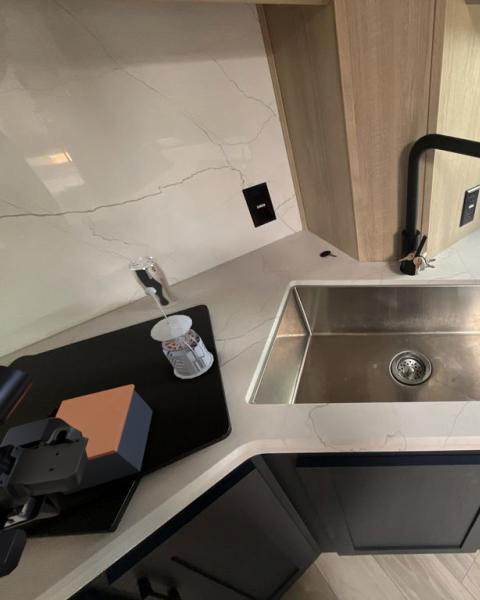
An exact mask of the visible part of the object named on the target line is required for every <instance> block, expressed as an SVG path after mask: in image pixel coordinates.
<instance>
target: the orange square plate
mask: <svg viewBox="0 0 480 600" xmlns="http://www.w3.org/2000/svg"><path fill="white" fill-rule="evenodd" d="M133 390H135V385H134V384H133V383H131V384H127V385H122V386H119V387H115V388H114V387H113V388H111V389H107V390H101V391H98V392H94V393H90V394H86V395H81V396H77V397H74V398H70V399H65V400H62V402H61V404H60V405H59V408H58V410H57V413H56V415H55V417H56V418H61V419H62V420H64V421H65V422H66V423H68V424H69V425H70V426H72V427H74V428H76V429H77V430H79V431H81V432H82V436H84V437H87V438H89V440H88V443H87V446H86V453H87V456H88V460H91V459H94V458H98V457H101V456H104V455H108V454H111V453H115V452H117V449H118V445H119V442H120V438H121V434H122V431H123V427H124V423H125V420H126V416H127V412H128V409H129V405H130V401H131V398H132V394H133Z"/></svg>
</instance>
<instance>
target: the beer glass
mask: <svg viewBox="0 0 480 600" xmlns="http://www.w3.org/2000/svg"><path fill="white" fill-rule="evenodd" d="M127 267H128V269H129V271H130V273H131V274H132V276H133V279H134V280H135V282H136V283H137V284H138V286H139V287H140V288H141V289H142V290H143V291H144V292H145V290H146V289H147V288H148V287H153V288H154V289H155V290H156V293H155V294H153V295H154V297H155V299H156V300H157V302H158V304H159V305H160V307H161V309H162V310H166V309H168V308H171V307H172V306H173V307H174V305H175V304H176V303H177V301H178V298H177V297H176V296H175V294H174V293H173V292H172V291H171V288H170V284H169V280H168V278H167V275H166V273H165V271H164V269H163V267H162V266H161V264H160V263H159V261H158V260H157V258H156V257H154V256H143V257H142V256H141V257H139V258H136V259H134V260H132V261H131V262H129V264H128V266H127ZM148 297H149V298H150V299H151V301H152V305H153V308H154V309H157V310H160V308H159V306H158V305H157V303H156V301H155V300H154V298H153V296H152V295H148Z"/></svg>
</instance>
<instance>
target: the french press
mask: <svg viewBox="0 0 480 600" xmlns="http://www.w3.org/2000/svg"><path fill="white" fill-rule="evenodd" d="M155 293H156V290H155V289H154V288H153V287H148V288H147V289H146V290H145V291H144V294H145V295H146V296H149V295H152V296H153V298H154V300H155V301H156V303H157V305H158V306H159V308H160V309H159V310H160V311H161V313H162V315H163V316H164V319H161V320H159V321H158V322H157V323H156V324H155V325H154V326H153V327H152V329H151V330H150V336H151V338H152V339H153V340H155V341H157V342H161V348H162V352H163V354H164V355H165V356H166V358H167V360H168V361H169V363H170V364H171V365H172V367H173V373H174V375H175V376H176V377H177V378H180V379H182V380H185V379H193V378H196V377H198V376H201V375H202V374H204V373H206V372H207V371H208V370H209V369H210V368H211V367H212V365H213V362H214V355H213V354H212V352H209V351H208V349H207V348H206V346H205V344H204V342H203V340H202V338H201V337H200V335H199V334H198V333H197V332H196V331H195V330H194V329H191V327H192V325H193V321H192V320H193V319H192V318H190V316H188V315H184V314H174V315H170V316H166V314H165V312H164V309H161V307H160V305H159V304H158V302H157V300H156V299H155V297H154V295H153V294H155Z"/></svg>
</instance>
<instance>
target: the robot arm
mask: <svg viewBox="0 0 480 600" xmlns="http://www.w3.org/2000/svg"><path fill="white" fill-rule="evenodd" d="M33 383H34V378H33V376H32V375H31V374H30V373H29V372H27V371H25V370H20V369H17V368H15V367H12V366H6V365H1V364H0V427H3V425H4V424H5V423H6V422H7V420H8V419H9V417H11V415H12V413H13V412H14V410H15V409H16V408H17V407H18V405H19V403H20V402H21V401H22V399H23V398H24V397H25V395H26V393H28V391H29V389H31V387H32V386H33ZM88 440H89V438H87V437H84V436H82V432H81V431H79V430H77V429H76V428H74V427H72V426H70V425H69V424H68V423H66V422H65V421H64V420H62V419H61V418H56V416H55V417H52V416H51V417H47V418H43V419H40V420H36V421H32V422H29V423H23V424H20V425H17V426H14V427H10V428H9V429H8V431H7V433H6V434H5V436H4V438H3V440H2V442H1V444H0V579H2V578H4V577H7V576H9V575H10V574H11V573H13V572H14V571H15V570H16V569H17V568H18V566H19V564H20V561H21V559H22V556H23V553H24V550H25V548H26V545H27V542H28V538H27V532H26V530H25V529H20V528H16V527H20V526H22V525H25V524H29V523H31V522H32V521H36V520H42V519H43V520H44V519H49V518H53V517H56V516H59V515H60V512H61V509H62V507H61V505H60V503H59V500H58V499H57V496H56V494H55V493H58V492H60V491H68V490H72V489H74V488H75V487H77V486H78V485H79V484H80V482H81V480H82V476H83V472H84V469H85V466H86V463H87V461H88V456H87V453H86V446H87V443H88Z"/></svg>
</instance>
